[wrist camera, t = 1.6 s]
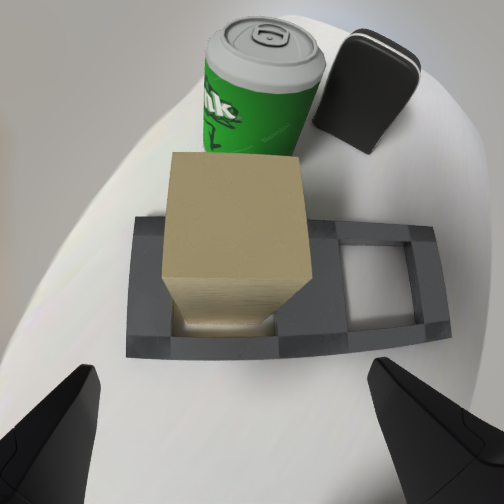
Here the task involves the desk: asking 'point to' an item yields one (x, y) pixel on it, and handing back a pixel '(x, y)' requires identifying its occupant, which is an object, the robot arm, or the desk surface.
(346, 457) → the desk surface
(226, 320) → the block
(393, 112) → the battery charger
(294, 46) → the soda can
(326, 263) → the grey rectangular frame
